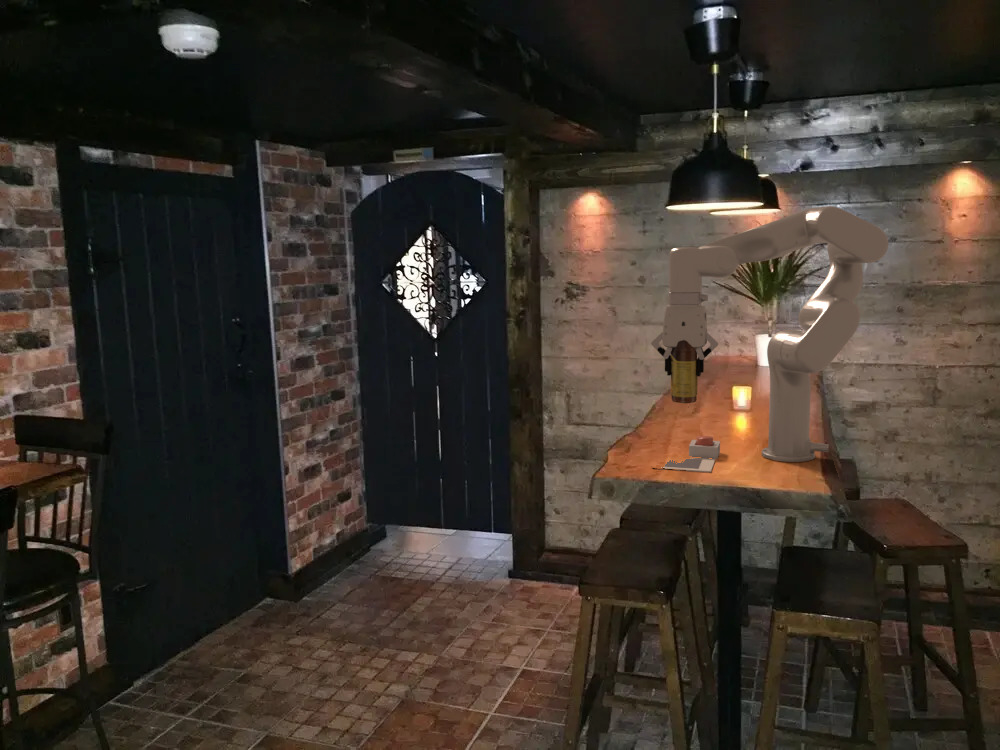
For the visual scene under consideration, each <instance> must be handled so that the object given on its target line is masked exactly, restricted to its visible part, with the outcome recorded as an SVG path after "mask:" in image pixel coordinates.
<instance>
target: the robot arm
mask: <svg viewBox="0 0 1000 750" xmlns="http://www.w3.org/2000/svg"><path fill="white" fill-rule="evenodd" d="M815 244H827V248H826V249H827V255H828V259H829V260H828V261H829V270H828V273H827V275H826V277H825V278H824V280H823V281H822V283H821V284H820V285H819V286H818V288H817V289H816V290H815V292H813V294H812V295H811V297H810V298H808V300H807V301H806V302H805V303H804V305H803V306H802V308H801V309H800V311H799V313H798V319H797V320H798V324H799V326H800V327H801V328H802V329H803V330H804V331H803V330H797V329H783V330H781V331H778V332H776V333H775V334H773V336H772V337H771V338H770V339H769V341H768V344H767V348H766V349H767V350H766V355H767V356H766V357H767V363H768V370H769V404H768V405H769V407H768V409H769V410H768V440H767V441H768V447H767V446H766V447H764V448H762V450H761V456H763V457H764V458H765V459H769V460H773V461H777V462H786V463H788V462H789V463H801V462H804V463H805V462H810V461H812V460H814V459H816V453H815V452H820V453H829V451H830V449H829V448H830V447H829V444H828V443H823V442H814V441H811V436H810V422H811V421H810V420H811V419H810V418H811V416H810V415H811V396H812V393H811V391H812V390H811V389H812V387H811V386H812V384H811V379H810V378H811V377H810V374H817V373H820V372H822V371H823V370H825V369H826V368H827V367H828V366H829V365H830V364H831V363H832V362H833V361H834V359H835V358H836V357H837V356H838V355H839V353H840V352H841V351H842V350H843V349H844V347H845V346H846V344H847V343H848V342H849V341H850V339H852V337H853V336H854V334H855V333H856V332H857V329H858V328H859V324H860V321H861V315H860V314H861V313H860V309H859V306H857V304H856V303H855V302H854V301H855V299H856V298H857V297H858V295H859V293H860V292H861V290H862V287H863V283H864V274H863V273H864V272H863V264H871V263H876V262H877V261H879V260H881V259H883V257H885V255H886V253H887V252H888V249H889V239H888V236H887V234H886V232H885V231H884V230H882V228H880V227H878V226H877V225H875V224H873V223H871V222H868V221H866V220H865V219H863V218H861V217H858V216H857V215H855V214H853V213H851V212H850V211H849V212H848V211H846V210H844V209H842V208H840V207H837V206H831V205H827V206H819V207H810V208H807V209H803V210H801V211H798V212H797V211H796V212H795V213H792V214H790V215H787V216H784V217H781V218H779V219H777V220H773V221H771V222H767V223H765V224H762V225H759V226H756V227H752V228H750V229H747V230H744V231H742V232H738V233H735V234H732V235H729V236H726V237H723V238H721V239H720V238H719V239H717V240H714V241H711V242H709V243H707V244H704V245H701V246H699V247H697V246H696V247H695V246H689V247H688V246H687V247H686V246H685V247H684V246H683V247H681V246H680V247H674V248H672V249H671V250H670V252H669V259H668V260H669V261H668V262H669V263H668V265H669V267H668V269H669V271H668V274H669V275H668V304H667V305H666V306H665V309H664V310H665V311H664V316H663V322H662V323H663V324H662V325H663V326H662V332H661V333H660V334H659V335H657V336H656V338H654V339H653V340H652V341H651V343H650V344H651V346H652V347H653V348H654V349H655V350H657V352H658V353H659V354H660V355H661V357H663V359H664V372H666V373H667V375H666V376H670V377H671V351H672V349H673V348H675V347H676V346H677V344H678V342H679V341H682V340H685V341H687V342H688V343H689V344H690V345H691V346H692V347H694V348H695V349H696V352H697V358H698V360H697V376H698V377H701V375H702V373H704V371H705V369H704V368H705V366H704V365H705V358H706V357H708V356H709V354H711V353H712V351H714V350H715V349H716V348H717V347H718V346H719V342H718V341H717V340H716V339H715V338H714V337H713V335H711V334H710V333H709V332H708V323H707V322H708V319H707V311H706V305H703V304H702V303H703V302H707V301H708V299H709V295H707V294H706V295H705V294H704V293H703V292H702V288H703V287H702V286H703V285H702V284H703V283H702V282H703V281H702V280H703V279H702V277H703V278H713V279H724V278H728V277H730V276H731V275H733V274H734V273H735V272H736V270H737V269H738V267H739V265H744V264H748V263H758V262H765V261H770V260H775V259H777V258H781V257H783V256H786V255H788V254H790V253H793V252H796V251H799V250H801V249H804V248H806V247H809V246H814V245H815ZM682 322H685V326H682ZM661 341H662V345H663V346H664V347H666V349H665V348H664V347H663V346H661V344H660V342H661ZM707 343H709V344H710V345H709V346H708V347H707V348H706V349H705V350H704V349H703V348H704V347H705V346H706V345H707Z"/></svg>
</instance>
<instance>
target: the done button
mask: <svg viewBox="0 0 1000 750" xmlns="http://www.w3.org/2000/svg"><path fill="white" fill-rule="evenodd" d="M696 440H697V445H703V446H713V441H714V437H712V436H709V435H699V436H696Z"/></svg>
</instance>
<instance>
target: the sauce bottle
mask: <svg viewBox="0 0 1000 750" xmlns="http://www.w3.org/2000/svg"><path fill="white" fill-rule="evenodd" d="M682 326H685V322H682ZM697 360H698V354H697V352H696V349H695V348H694V347H692V346H691V345H690V344H689V343H688V342H687V341H685V340H682V341H679V342H678V344H677V346H676V347H675V348H673V349H672V351H671V375H670V395H671V401H672V403H679V404H691V403H692V404H693V403H696V402H697V398H698V397H697V396H698V380H699V379H698V378H699V376H697Z"/></svg>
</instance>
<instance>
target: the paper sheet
mask: <svg viewBox="0 0 1000 750" xmlns="http://www.w3.org/2000/svg"><path fill="white" fill-rule="evenodd" d="M691 458H692V457H691ZM691 458H690V459H686V460H685V461H684V462H683V461H682V462H683V463H682V462H681V463H677V462H676V463H677V464H676V463H675V461H674V463H673V460H672V462H671V460H670V461H669V462H667V464H665V466H664V467H663V468H665V469H676V470H675V471H680V470H686V471H685V472H696V473H699V472H700V473H712V470H713V468H714V464H715V462H716V459H709V458H692V459H691ZM661 468H662V467H661ZM665 469H664V470H665ZM677 469H678V470H677Z"/></svg>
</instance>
